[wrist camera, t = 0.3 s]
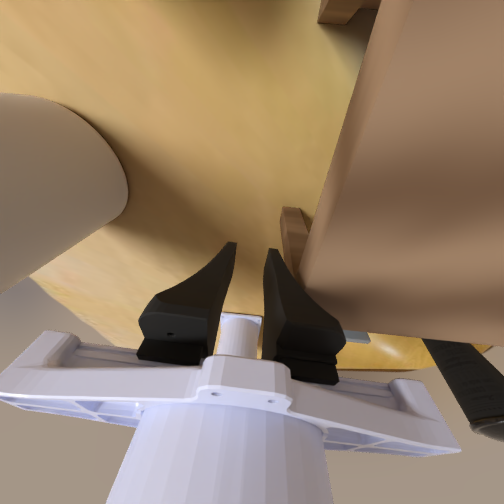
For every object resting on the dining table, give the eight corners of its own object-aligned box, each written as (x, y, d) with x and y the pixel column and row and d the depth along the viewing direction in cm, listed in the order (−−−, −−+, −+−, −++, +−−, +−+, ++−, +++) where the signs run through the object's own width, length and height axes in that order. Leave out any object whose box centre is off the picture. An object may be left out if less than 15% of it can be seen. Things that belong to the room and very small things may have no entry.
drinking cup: (415, 315, 32) (566, 518, 16) (466, 312, 30) (688, 531, 14) (402, 338, 36) (510, 514, 20) (447, 336, 35) (600, 524, 19)
